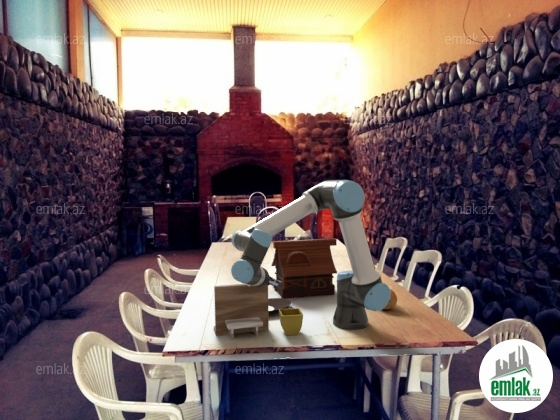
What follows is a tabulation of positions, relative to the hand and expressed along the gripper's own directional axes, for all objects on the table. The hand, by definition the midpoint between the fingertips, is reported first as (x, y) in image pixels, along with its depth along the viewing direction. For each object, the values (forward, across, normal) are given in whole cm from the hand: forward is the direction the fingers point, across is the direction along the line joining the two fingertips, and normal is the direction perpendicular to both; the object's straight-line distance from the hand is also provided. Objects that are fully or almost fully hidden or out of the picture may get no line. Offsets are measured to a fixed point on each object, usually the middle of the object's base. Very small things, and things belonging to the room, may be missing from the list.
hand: (276, 283), depth 187 cm
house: (+63, -5, 0) cm, 63 cm away
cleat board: (-1, -5, -24) cm, 25 cm away
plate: (+29, -12, -15) cm, 35 cm away
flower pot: (+4, +13, -16) cm, 21 cm away
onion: (+46, +40, +8) cm, 61 cm away
